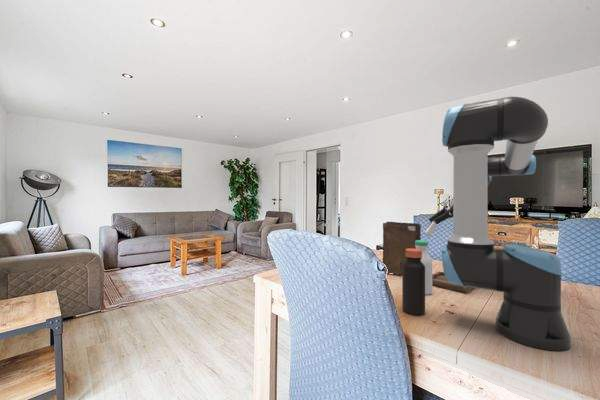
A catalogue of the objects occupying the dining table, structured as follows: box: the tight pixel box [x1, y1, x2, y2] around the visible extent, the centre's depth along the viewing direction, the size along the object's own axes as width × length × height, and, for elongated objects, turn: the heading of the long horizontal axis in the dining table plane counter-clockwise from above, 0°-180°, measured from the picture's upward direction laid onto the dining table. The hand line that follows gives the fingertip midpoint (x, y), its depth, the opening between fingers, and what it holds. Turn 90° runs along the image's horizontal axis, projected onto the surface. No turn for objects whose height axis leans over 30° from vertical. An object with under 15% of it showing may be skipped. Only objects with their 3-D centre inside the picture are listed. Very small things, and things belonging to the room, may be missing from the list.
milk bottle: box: [415, 239, 433, 296], centre depth 104 cm, size 8×8×20 cm
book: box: [382, 221, 422, 276], centre depth 127 cm, size 17×7×25 cm, turn 51°
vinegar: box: [401, 248, 426, 316], centre depth 87 cm, size 7×7×20 cm
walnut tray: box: [432, 271, 475, 295], centre depth 113 cm, size 16×16×2 cm
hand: (441, 236), depth 109 cm, fingers open, 13 cm apart
